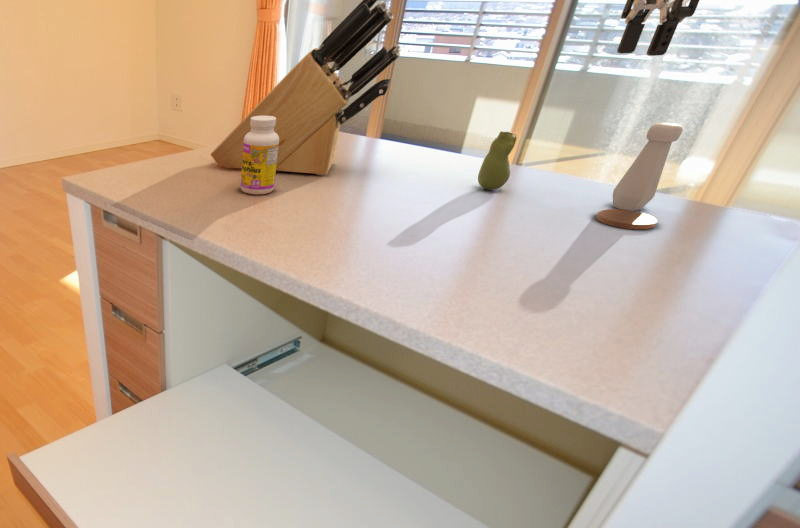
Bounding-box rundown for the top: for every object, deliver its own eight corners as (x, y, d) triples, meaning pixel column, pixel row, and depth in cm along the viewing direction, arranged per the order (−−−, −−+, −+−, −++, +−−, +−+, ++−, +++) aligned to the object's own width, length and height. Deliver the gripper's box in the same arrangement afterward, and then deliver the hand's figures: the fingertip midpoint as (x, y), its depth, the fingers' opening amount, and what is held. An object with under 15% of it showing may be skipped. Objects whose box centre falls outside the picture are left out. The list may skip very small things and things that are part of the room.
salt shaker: (602, 207, 95) (641, 124, 87) (611, 200, 98) (650, 119, 90) (642, 214, 91) (687, 128, 83) (650, 206, 94) (695, 123, 86)
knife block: (372, 180, 111) (414, -12, 92) (209, 168, 121) (215, -7, 102) (376, 167, 119) (414, -12, 100) (223, 157, 130) (231, -7, 110)
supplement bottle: (233, 190, 108) (237, 117, 100) (256, 184, 111) (262, 113, 103) (257, 197, 103) (264, 122, 95) (280, 191, 107) (289, 117, 99)
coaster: (654, 218, 89) (657, 214, 89) (654, 233, 84) (657, 227, 84) (597, 211, 93) (599, 206, 93) (594, 224, 88) (596, 219, 88)
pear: (475, 184, 108) (493, 127, 101) (504, 187, 106) (525, 129, 99) (473, 191, 104) (491, 133, 98) (503, 194, 102) (525, 135, 96)
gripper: (767, -104, 66) (696, 55, 76) (695, -85, 78) (641, 51, 87) (697, -98, 68) (636, 58, 77) (637, -81, 79) (590, 53, 89)
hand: (639, 54), depth 82 cm, fingers open, 8 cm apart
